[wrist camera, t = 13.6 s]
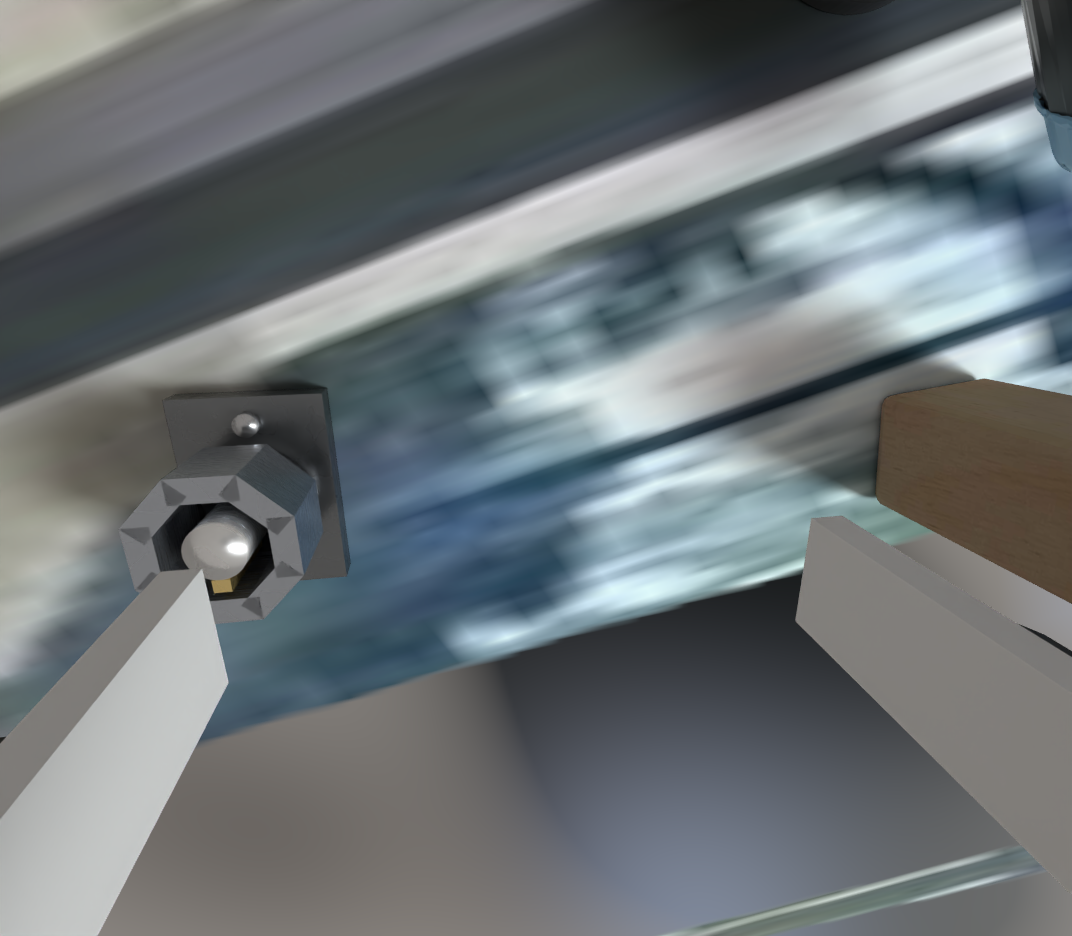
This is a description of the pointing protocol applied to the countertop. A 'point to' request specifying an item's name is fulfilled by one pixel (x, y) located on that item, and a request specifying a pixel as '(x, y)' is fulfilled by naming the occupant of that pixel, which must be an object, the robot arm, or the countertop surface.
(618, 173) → the countertop surface
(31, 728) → the robot arm
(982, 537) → the wooden block
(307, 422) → the shaft stand
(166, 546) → the hub
